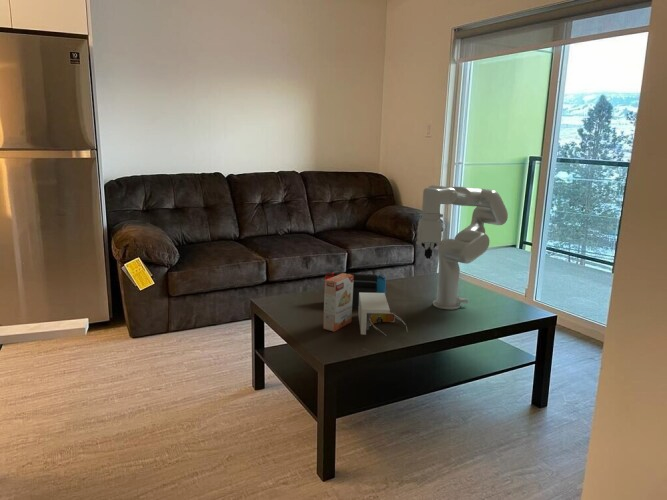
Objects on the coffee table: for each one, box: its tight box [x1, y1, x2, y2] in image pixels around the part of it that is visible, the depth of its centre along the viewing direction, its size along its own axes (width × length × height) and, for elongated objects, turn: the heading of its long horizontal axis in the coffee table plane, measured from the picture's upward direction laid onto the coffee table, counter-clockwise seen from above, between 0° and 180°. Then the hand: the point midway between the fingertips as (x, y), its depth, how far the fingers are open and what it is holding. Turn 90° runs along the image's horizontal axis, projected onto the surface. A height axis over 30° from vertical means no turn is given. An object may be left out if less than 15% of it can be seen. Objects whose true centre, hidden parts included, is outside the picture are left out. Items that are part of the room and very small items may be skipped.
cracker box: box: [322, 272, 354, 332], centre depth 215 cm, size 14×6×21 cm, turn 148°
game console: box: [324, 271, 387, 308], centre depth 244 cm, size 28×6×15 cm, turn 83°
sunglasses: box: [368, 312, 408, 336], centre depth 217 cm, size 14×15×5 cm
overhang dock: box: [357, 292, 391, 336], centre depth 219 cm, size 11×22×10 cm, turn 0°
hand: (427, 257), depth 231 cm, fingers closed
